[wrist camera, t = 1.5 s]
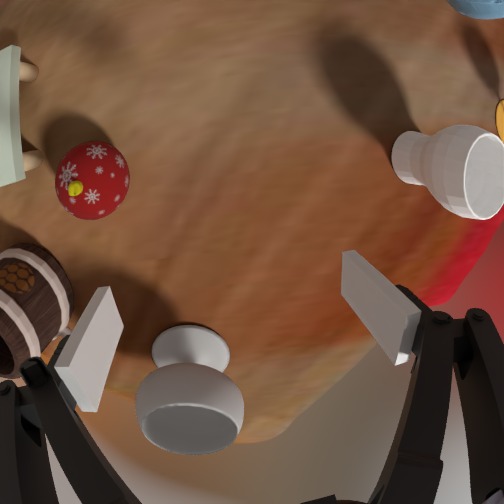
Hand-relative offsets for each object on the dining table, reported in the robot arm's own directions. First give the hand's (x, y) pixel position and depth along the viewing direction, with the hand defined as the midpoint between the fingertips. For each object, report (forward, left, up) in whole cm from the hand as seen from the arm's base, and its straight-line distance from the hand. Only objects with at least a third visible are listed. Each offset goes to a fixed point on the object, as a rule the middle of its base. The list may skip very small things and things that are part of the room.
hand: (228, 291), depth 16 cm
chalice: (+23, -6, -22) cm, 32 cm away
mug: (+11, -27, -22) cm, 37 cm away
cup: (-5, +28, -22) cm, 35 cm away
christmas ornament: (-5, -13, -22) cm, 26 cm away
